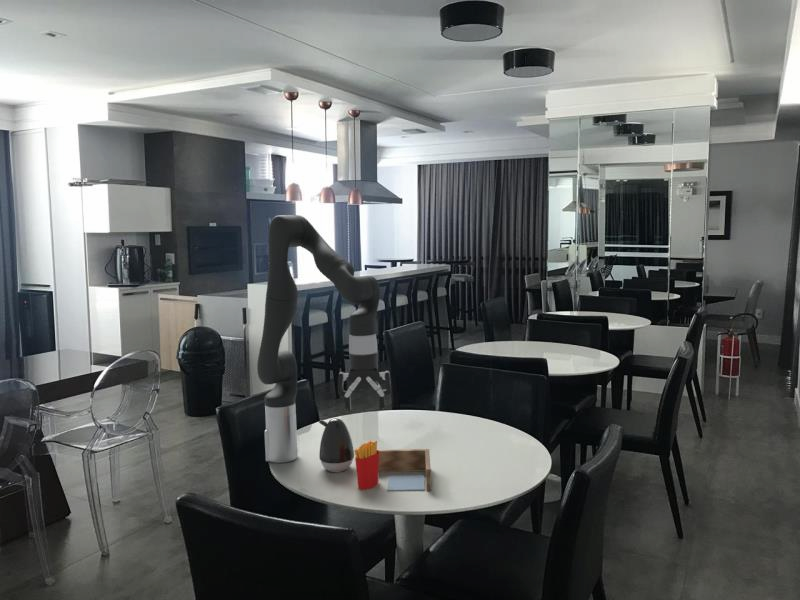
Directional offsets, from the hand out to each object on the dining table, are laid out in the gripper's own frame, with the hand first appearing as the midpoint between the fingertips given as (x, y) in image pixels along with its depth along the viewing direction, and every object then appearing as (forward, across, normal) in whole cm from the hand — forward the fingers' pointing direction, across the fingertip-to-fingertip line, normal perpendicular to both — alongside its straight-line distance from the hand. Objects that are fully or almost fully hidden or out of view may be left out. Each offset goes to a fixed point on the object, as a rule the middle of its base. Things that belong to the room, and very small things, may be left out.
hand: (365, 409), depth 178 cm
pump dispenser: (+21, -10, +13) cm, 27 cm away
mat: (+21, +10, +1) cm, 24 cm away
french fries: (+22, 0, 0) cm, 22 cm away
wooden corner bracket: (+21, +7, +4) cm, 23 cm away
